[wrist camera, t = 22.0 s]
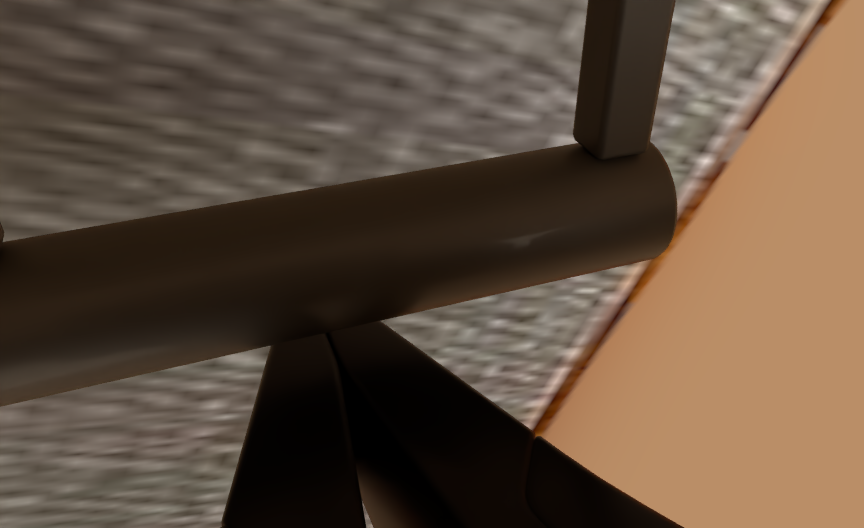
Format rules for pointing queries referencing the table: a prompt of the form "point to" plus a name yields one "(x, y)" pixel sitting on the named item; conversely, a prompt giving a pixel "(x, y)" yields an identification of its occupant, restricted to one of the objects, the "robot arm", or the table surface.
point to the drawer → (351, 240)
